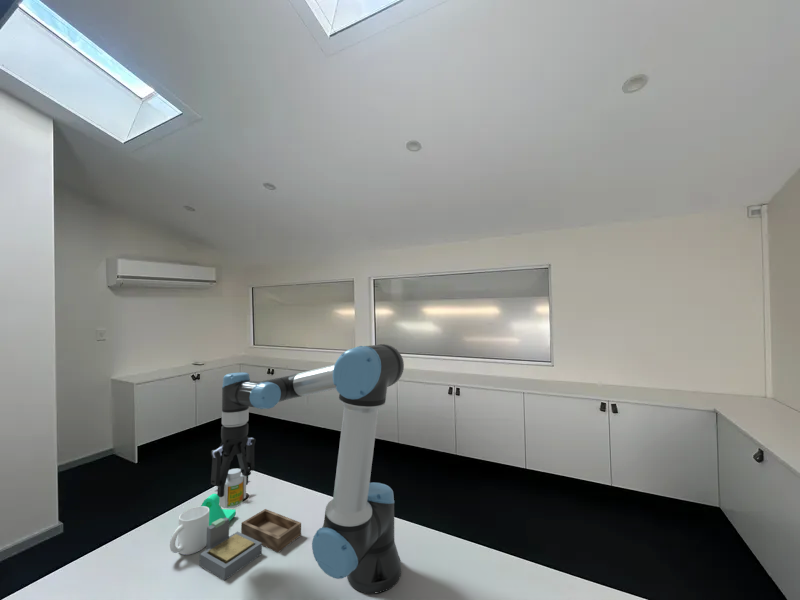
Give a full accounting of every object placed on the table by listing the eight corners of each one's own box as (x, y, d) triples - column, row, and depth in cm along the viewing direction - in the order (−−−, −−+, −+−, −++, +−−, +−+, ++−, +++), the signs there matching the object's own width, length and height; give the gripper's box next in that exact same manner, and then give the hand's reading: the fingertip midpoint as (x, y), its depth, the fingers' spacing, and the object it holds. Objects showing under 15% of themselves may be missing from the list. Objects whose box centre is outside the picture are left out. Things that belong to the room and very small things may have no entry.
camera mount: (236, 516, 121) (237, 487, 122) (224, 529, 114) (225, 498, 114) (205, 516, 122) (206, 487, 123) (191, 528, 114) (192, 498, 115)
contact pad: (253, 547, 100) (254, 542, 100) (226, 566, 93) (226, 560, 93) (235, 538, 104) (236, 534, 105) (208, 555, 97) (208, 550, 97)
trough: (301, 535, 109) (301, 522, 110) (277, 552, 101) (278, 538, 101) (265, 520, 118) (265, 508, 118) (241, 535, 110) (241, 522, 110)
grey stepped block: (261, 553, 101) (262, 522, 101) (224, 580, 90) (225, 545, 91) (233, 539, 108) (234, 510, 108) (195, 563, 97) (196, 530, 98)
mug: (179, 566, 96) (181, 529, 97) (159, 561, 98) (160, 525, 99) (214, 541, 107) (215, 508, 108) (195, 536, 110) (196, 504, 110)
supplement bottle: (229, 510, 96) (230, 476, 97) (219, 505, 99) (220, 472, 100) (246, 502, 101) (247, 469, 101) (236, 497, 103) (236, 465, 104)
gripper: (253, 414, 111) (251, 485, 110) (197, 430, 96) (194, 513, 94) (268, 417, 108) (266, 491, 106) (212, 434, 92) (210, 520, 90)
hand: (232, 501), depth 100 cm, fingers closed on supplement bottle, 5 cm apart
